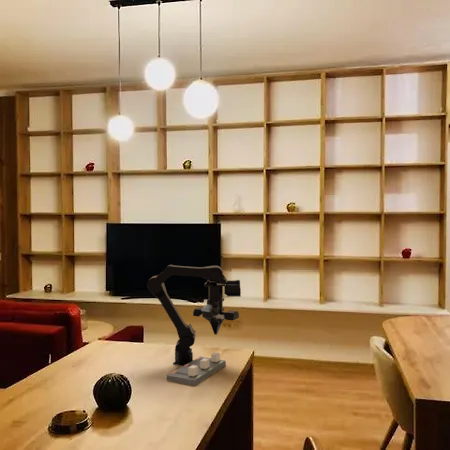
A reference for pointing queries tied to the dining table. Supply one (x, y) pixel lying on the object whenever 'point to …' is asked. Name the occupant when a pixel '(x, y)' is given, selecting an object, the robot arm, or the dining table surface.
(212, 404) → the dining table surface
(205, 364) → the middle switch
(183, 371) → the breaker panel
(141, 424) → the dining table surface
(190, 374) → the switch
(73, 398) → the dining table surface
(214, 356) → the far switch
